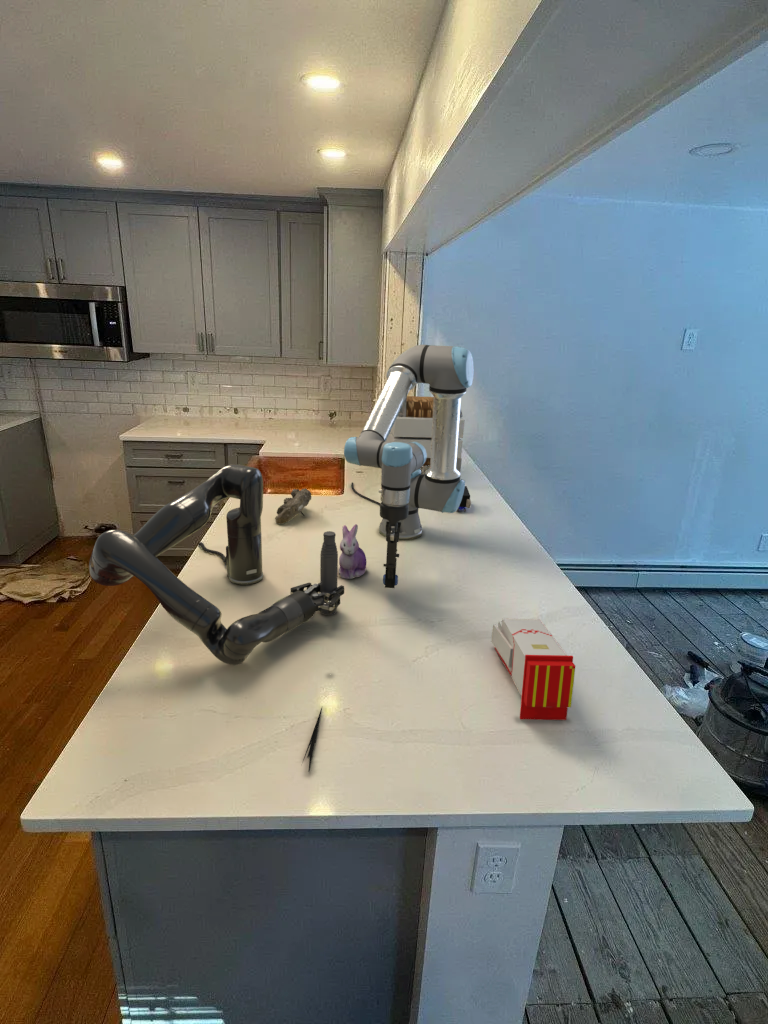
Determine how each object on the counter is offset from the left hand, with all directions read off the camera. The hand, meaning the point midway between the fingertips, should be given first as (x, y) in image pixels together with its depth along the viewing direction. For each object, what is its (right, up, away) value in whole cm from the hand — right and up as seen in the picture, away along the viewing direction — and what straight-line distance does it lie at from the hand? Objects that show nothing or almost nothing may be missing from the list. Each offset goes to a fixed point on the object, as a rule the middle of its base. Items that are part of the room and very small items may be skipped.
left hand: (335, 586), depth 148 cm
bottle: (-2, -6, 0) cm, 7 cm away
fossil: (-21, +18, +65) cm, 70 cm away
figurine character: (+43, +21, +82) cm, 95 cm away
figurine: (+3, +1, +21) cm, 22 cm away
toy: (+43, -17, -24) cm, 52 cm away
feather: (0, -21, -39) cm, 44 cm away
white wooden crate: (+30, +38, +127) cm, 136 cm away
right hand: (+14, 0, +8) cm, 16 cm away
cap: (+14, +1, +7) cm, 16 cm away
